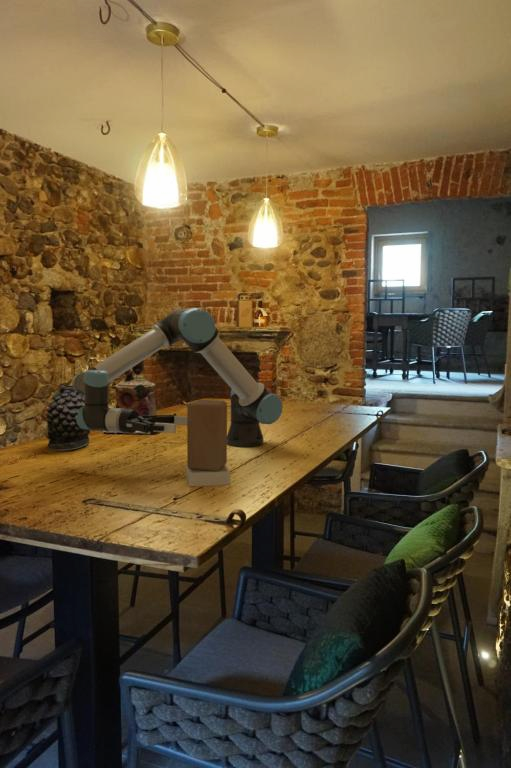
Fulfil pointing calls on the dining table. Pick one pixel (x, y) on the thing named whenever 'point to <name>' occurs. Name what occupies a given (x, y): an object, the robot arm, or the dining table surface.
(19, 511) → the dining table surface
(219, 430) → the block
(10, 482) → the dining table surface
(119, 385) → the cookie jar
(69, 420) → the studded ceramic pot
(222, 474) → the tray
